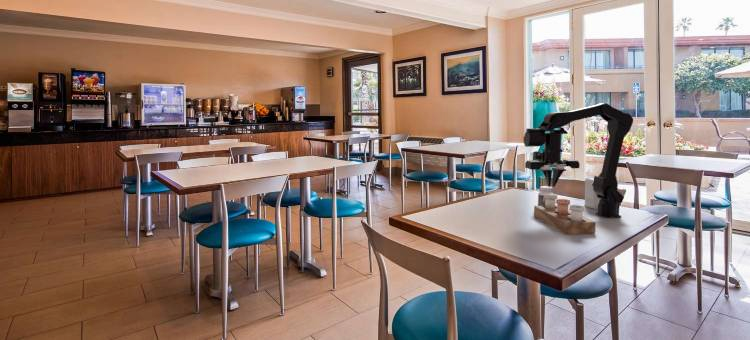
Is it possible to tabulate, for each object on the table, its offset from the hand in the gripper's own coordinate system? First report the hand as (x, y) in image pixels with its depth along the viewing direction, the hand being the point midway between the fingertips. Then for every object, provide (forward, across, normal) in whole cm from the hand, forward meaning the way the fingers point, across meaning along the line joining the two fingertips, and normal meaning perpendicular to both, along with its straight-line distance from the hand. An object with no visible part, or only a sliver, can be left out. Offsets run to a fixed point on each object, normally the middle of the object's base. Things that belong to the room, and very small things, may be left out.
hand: (551, 186), depth 159 cm
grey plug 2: (+9, 0, +19) cm, 21 cm away
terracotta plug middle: (+9, 0, +10) cm, 13 cm away
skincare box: (+12, -25, -14) cm, 31 cm away
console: (+12, 0, +10) cm, 15 cm away
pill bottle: (+12, -3, -10) cm, 16 cm away
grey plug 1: (+9, 0, 0) cm, 9 cm away
